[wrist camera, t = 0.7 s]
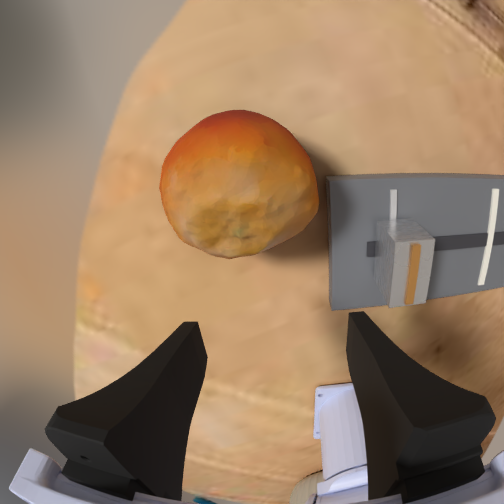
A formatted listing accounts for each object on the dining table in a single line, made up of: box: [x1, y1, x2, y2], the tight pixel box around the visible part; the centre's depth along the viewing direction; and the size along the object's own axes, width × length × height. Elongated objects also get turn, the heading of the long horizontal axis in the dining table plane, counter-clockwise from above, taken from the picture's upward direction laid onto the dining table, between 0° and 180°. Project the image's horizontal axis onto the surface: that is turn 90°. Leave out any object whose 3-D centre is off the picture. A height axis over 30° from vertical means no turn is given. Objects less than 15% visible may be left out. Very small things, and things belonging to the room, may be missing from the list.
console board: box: [326, 173, 504, 311], centre depth 18 cm, size 9×16×2 cm, turn 97°
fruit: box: [159, 110, 319, 259], centre depth 16 cm, size 8×8×8 cm
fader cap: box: [374, 218, 435, 308], centre depth 16 cm, size 4×2×4 cm, turn 7°
